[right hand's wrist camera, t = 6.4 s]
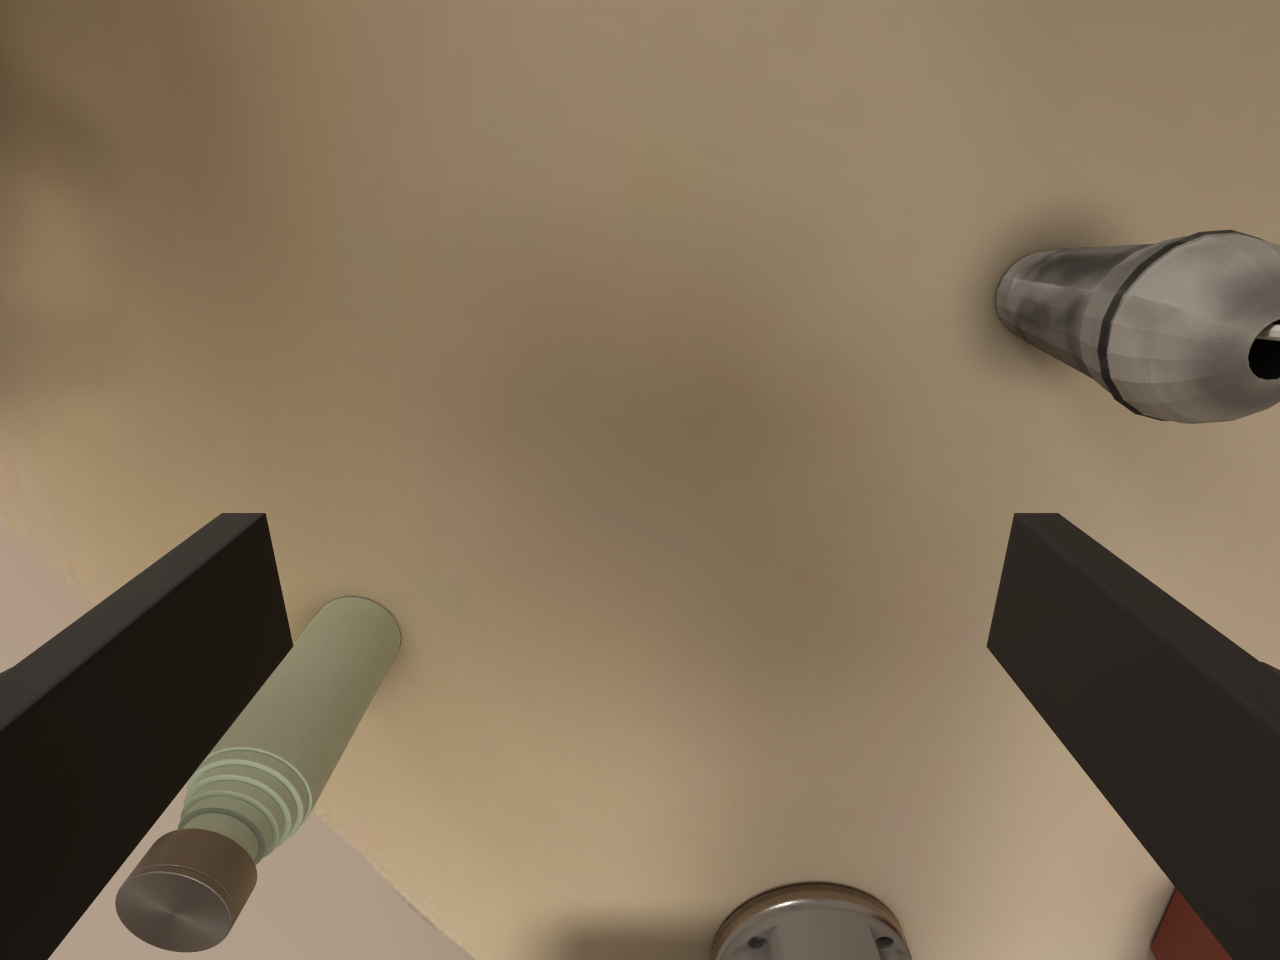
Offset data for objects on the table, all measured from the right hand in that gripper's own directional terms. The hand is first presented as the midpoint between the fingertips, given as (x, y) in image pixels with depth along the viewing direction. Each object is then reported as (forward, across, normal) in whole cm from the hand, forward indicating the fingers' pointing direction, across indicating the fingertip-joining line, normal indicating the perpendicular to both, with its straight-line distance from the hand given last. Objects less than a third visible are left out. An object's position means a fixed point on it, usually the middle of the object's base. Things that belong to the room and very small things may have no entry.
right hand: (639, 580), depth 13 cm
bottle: (+28, +18, +20) cm, 39 cm away
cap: (+9, +18, +20) cm, 28 cm away
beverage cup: (+28, -21, -2) cm, 35 cm away
